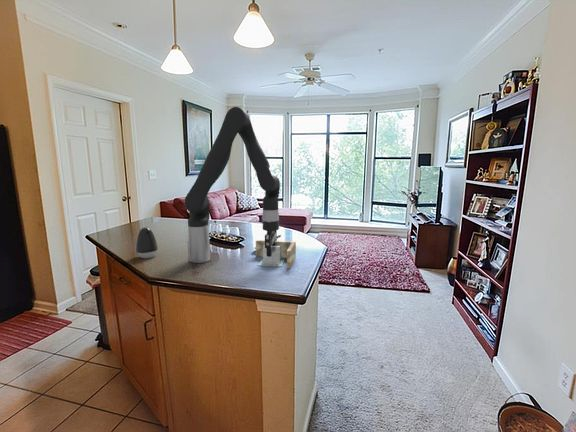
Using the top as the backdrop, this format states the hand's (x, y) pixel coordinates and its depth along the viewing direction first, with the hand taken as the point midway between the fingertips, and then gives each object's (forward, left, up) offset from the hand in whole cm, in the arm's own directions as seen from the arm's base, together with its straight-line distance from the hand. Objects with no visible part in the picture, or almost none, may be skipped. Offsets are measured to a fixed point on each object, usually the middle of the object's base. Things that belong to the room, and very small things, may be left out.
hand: (271, 253), depth 135 cm
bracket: (0, -2, -4) cm, 5 cm away
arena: (0, +2, -5) cm, 5 cm away
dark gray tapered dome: (-64, 0, -5) cm, 64 cm away
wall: (-8, +22, -5) cm, 24 cm away
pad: (0, 0, -5) cm, 5 cm away
